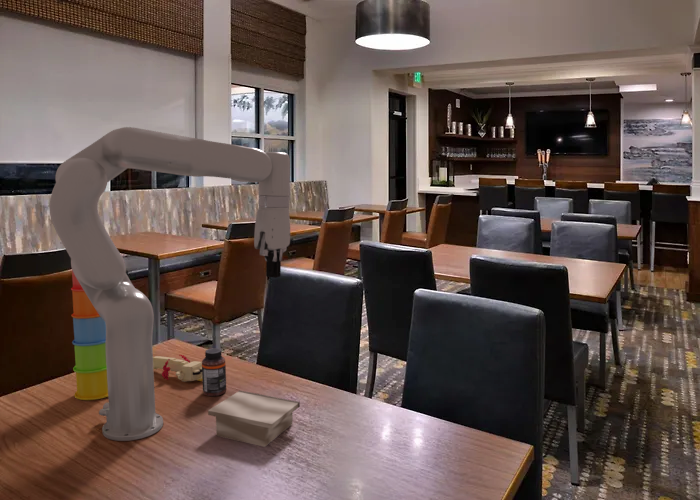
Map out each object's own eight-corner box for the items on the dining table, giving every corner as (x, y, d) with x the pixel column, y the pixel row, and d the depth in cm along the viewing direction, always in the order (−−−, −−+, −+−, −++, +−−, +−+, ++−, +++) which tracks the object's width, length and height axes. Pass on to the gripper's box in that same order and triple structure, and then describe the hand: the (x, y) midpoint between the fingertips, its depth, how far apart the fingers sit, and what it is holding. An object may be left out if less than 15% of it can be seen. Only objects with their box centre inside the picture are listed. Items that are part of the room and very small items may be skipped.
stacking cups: (66, 401, 139) (57, 263, 134) (85, 385, 149) (77, 256, 144) (108, 401, 139) (100, 263, 134) (124, 386, 149) (117, 257, 144)
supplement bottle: (208, 387, 148) (206, 346, 147) (229, 388, 148) (228, 347, 146) (199, 396, 142) (197, 353, 141) (221, 397, 142) (220, 354, 140)
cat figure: (125, 377, 159) (192, 386, 147) (121, 347, 158) (189, 354, 146) (152, 366, 167) (217, 374, 156) (149, 338, 166) (214, 343, 155)
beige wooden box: (240, 412, 133) (239, 390, 132) (299, 425, 127) (299, 401, 126) (208, 434, 122) (208, 410, 121) (272, 449, 116) (271, 423, 115)
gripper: (276, 201, 146) (276, 271, 148) (243, 203, 132) (243, 280, 135) (302, 202, 143) (301, 273, 145) (270, 204, 129) (270, 283, 132)
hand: (273, 276), depth 140 cm, fingers closed
